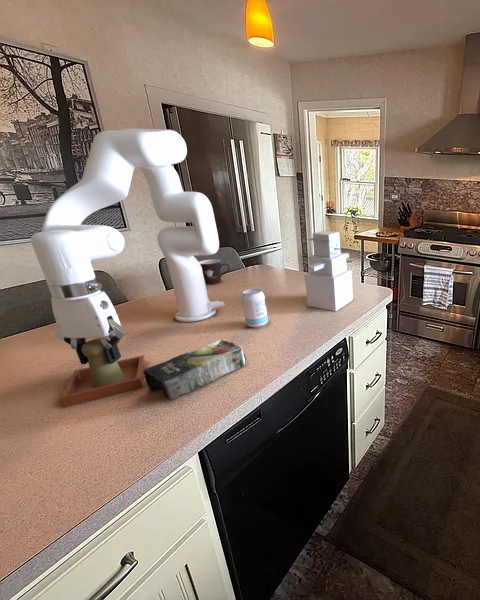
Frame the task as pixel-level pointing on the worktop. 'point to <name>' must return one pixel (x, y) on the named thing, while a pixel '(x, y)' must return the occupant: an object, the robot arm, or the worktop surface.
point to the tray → (84, 391)
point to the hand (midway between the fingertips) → (101, 360)
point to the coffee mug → (212, 271)
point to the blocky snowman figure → (328, 273)
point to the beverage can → (254, 308)
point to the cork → (101, 365)
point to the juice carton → (195, 368)
